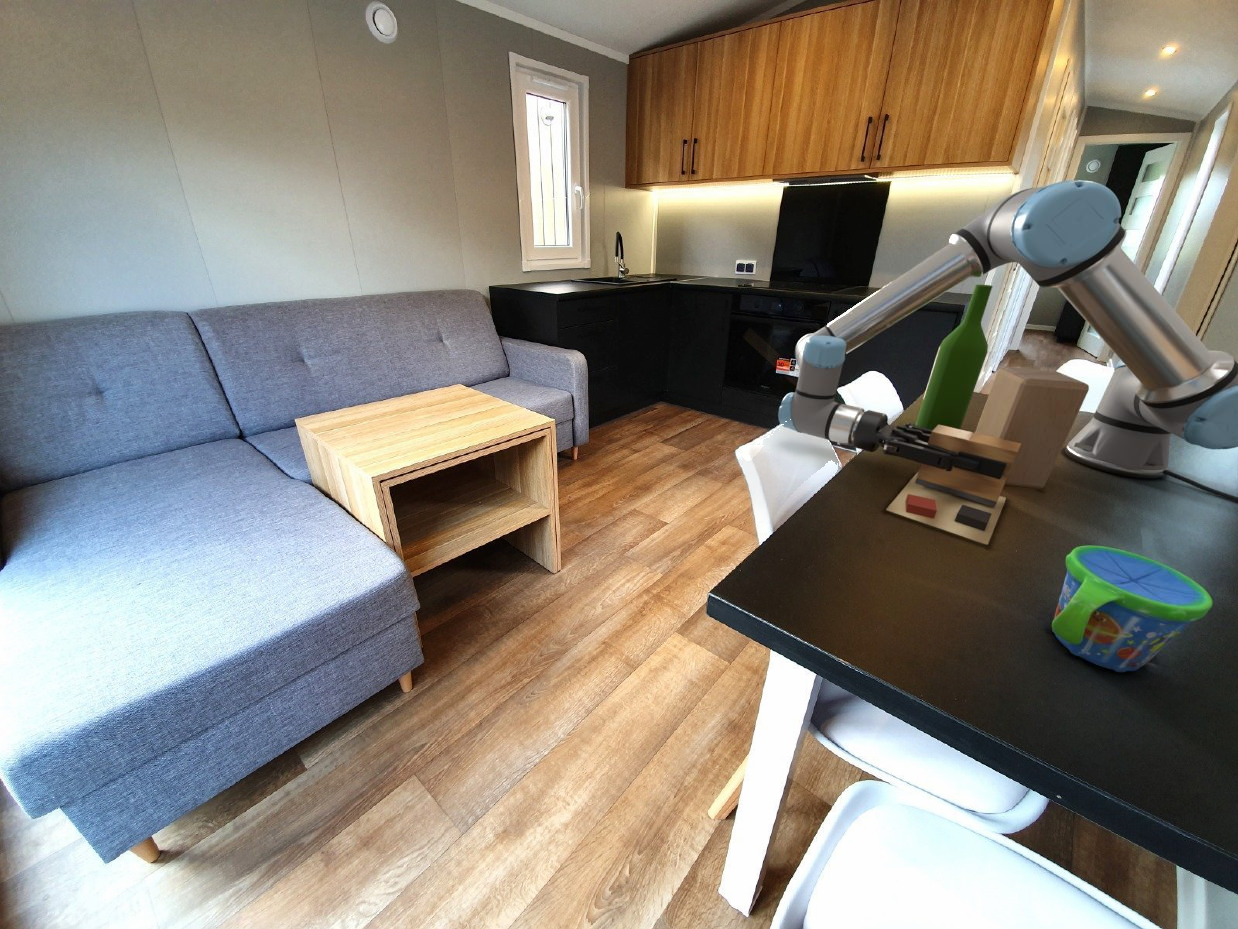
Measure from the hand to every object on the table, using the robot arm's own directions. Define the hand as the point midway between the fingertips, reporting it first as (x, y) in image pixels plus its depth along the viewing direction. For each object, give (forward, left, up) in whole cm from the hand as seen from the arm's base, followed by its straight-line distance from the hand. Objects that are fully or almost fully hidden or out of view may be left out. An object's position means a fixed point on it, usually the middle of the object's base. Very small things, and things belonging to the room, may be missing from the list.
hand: (1005, 465), depth 80 cm
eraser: (+5, 0, -7) cm, 8 cm away
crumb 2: (+1, +10, -7) cm, 12 cm away
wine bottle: (+15, -34, -8) cm, 38 cm away
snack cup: (-14, +31, -8) cm, 35 cm away
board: (+5, +6, -7) cm, 11 cm away
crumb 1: (+8, +12, -7) cm, 16 cm away
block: (0, -15, -8) cm, 17 cm away
